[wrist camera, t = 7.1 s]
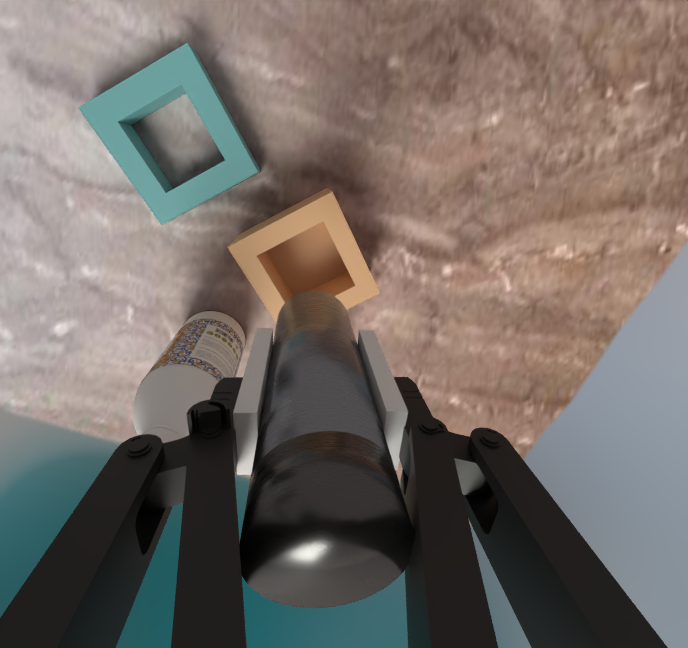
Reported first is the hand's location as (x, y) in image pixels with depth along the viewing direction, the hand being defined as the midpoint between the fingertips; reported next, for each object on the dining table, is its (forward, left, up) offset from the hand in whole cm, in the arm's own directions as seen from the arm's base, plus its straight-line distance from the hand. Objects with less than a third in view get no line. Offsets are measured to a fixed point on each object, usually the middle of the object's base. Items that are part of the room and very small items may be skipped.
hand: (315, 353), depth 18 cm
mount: (-14, -5, -21) cm, 26 cm away
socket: (0, 0, -21) cm, 21 cm away
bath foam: (+3, -14, -21) cm, 25 cm away
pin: (0, 0, -4) cm, 4 cm away
